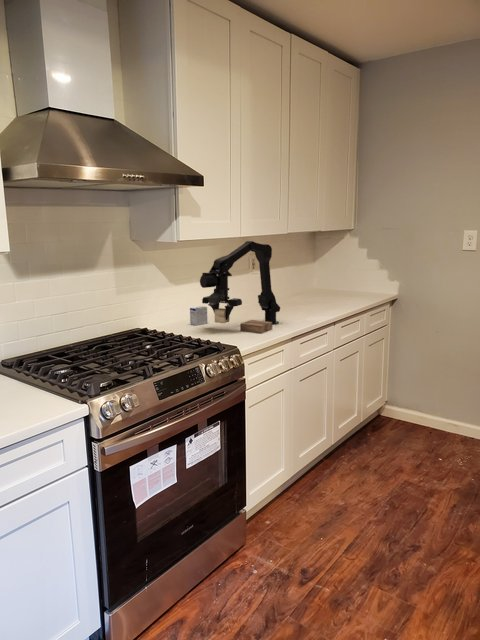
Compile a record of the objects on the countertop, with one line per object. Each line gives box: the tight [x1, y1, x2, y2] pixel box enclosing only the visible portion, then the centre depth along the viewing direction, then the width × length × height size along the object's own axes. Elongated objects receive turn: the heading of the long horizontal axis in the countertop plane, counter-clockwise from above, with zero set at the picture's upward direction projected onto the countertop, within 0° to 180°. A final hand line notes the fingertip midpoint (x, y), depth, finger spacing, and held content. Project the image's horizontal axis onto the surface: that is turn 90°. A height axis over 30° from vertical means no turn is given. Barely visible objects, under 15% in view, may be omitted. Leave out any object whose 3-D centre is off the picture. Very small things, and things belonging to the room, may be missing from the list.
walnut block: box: [239, 319, 273, 335], centre depth 241 cm, size 11×11×4 cm
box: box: [189, 305, 209, 327], centre depth 255 cm, size 8×4×9 cm, turn 136°
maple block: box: [214, 307, 230, 324], centre depth 240 cm, size 5×5×6 cm
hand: (222, 319), depth 240 cm, fingers closed on maple block, 5 cm apart
